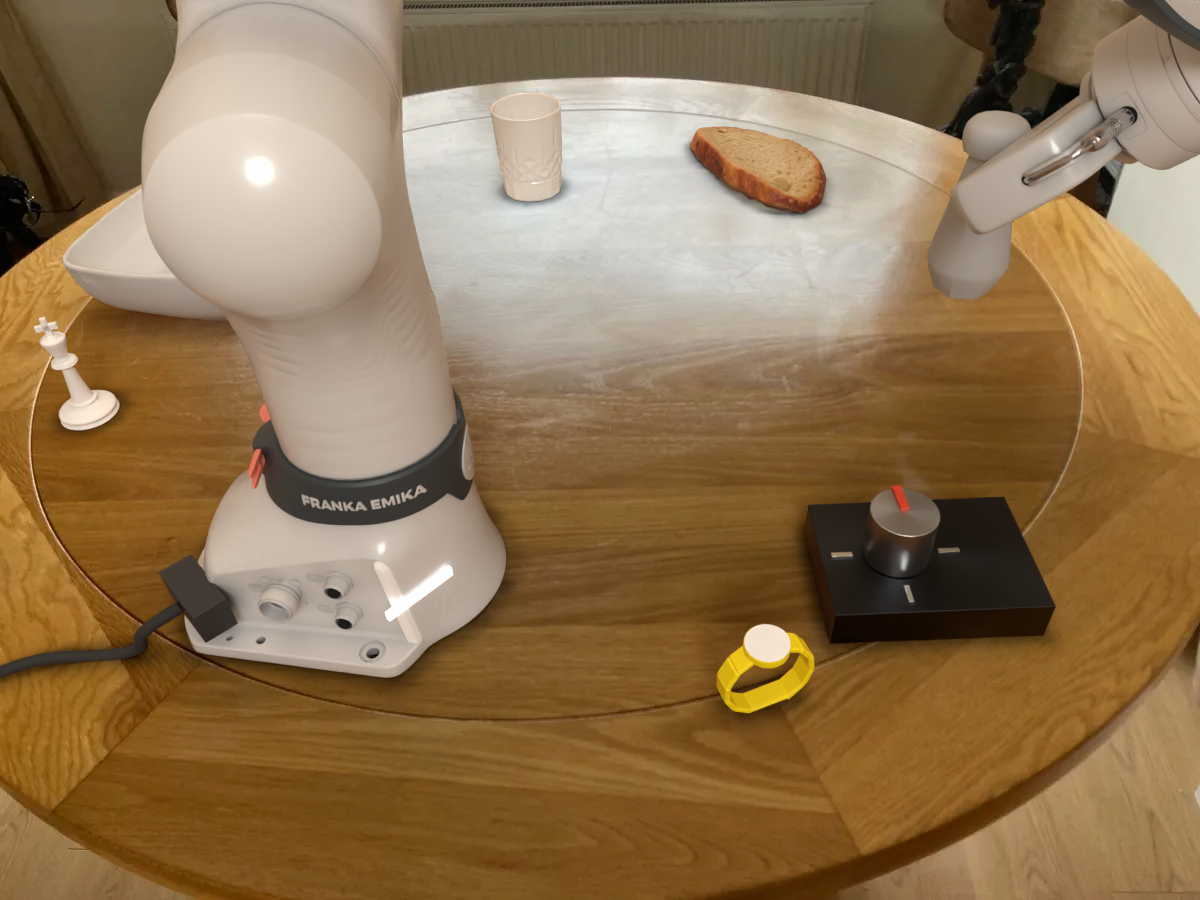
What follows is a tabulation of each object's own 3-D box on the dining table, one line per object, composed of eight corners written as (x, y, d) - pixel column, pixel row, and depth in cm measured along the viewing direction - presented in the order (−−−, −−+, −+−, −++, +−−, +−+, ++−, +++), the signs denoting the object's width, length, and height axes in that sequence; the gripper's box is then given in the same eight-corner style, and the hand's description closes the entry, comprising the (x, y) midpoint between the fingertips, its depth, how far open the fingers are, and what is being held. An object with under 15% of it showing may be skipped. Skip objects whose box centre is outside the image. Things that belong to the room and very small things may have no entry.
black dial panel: (830, 644, 63) (835, 613, 61) (803, 533, 71) (807, 502, 69) (1043, 635, 63) (1057, 605, 61) (994, 525, 70) (1004, 494, 68)
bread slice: (696, 136, 122) (696, 107, 120) (839, 149, 118) (843, 120, 115) (658, 201, 110) (658, 170, 107) (817, 219, 105) (820, 187, 103)
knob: (937, 575, 63) (950, 530, 60) (871, 580, 63) (881, 535, 60) (917, 527, 66) (928, 482, 64) (854, 531, 66) (863, 487, 64)
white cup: (486, 189, 114) (476, 107, 107) (538, 168, 118) (530, 86, 111) (528, 211, 109) (520, 126, 103) (580, 188, 113) (575, 104, 106)
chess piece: (61, 403, 86) (11, 310, 80) (119, 389, 87) (74, 296, 81) (59, 436, 83) (7, 341, 76) (119, 421, 84) (73, 327, 77)
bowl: (68, 328, 95) (34, 261, 90) (181, 227, 110) (157, 164, 105) (252, 350, 91) (228, 281, 86) (345, 242, 106) (328, 177, 101)
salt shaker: (1005, 309, 70) (1052, 138, 61) (923, 304, 71) (959, 134, 62) (997, 268, 74) (1040, 102, 66) (920, 263, 75) (953, 99, 67)
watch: (795, 667, 62) (804, 609, 58) (816, 702, 60) (827, 644, 56) (709, 695, 61) (713, 637, 57) (728, 732, 59) (733, 674, 55)
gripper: (1118, 199, 51) (920, 292, 63) (1249, 82, 62) (1059, 180, 74) (1059, 96, 51) (871, 209, 62) (1202, -4, 61) (1018, 109, 73)
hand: (974, 193), depth 68 cm, fingers closed on salt shaker, 3 cm apart
